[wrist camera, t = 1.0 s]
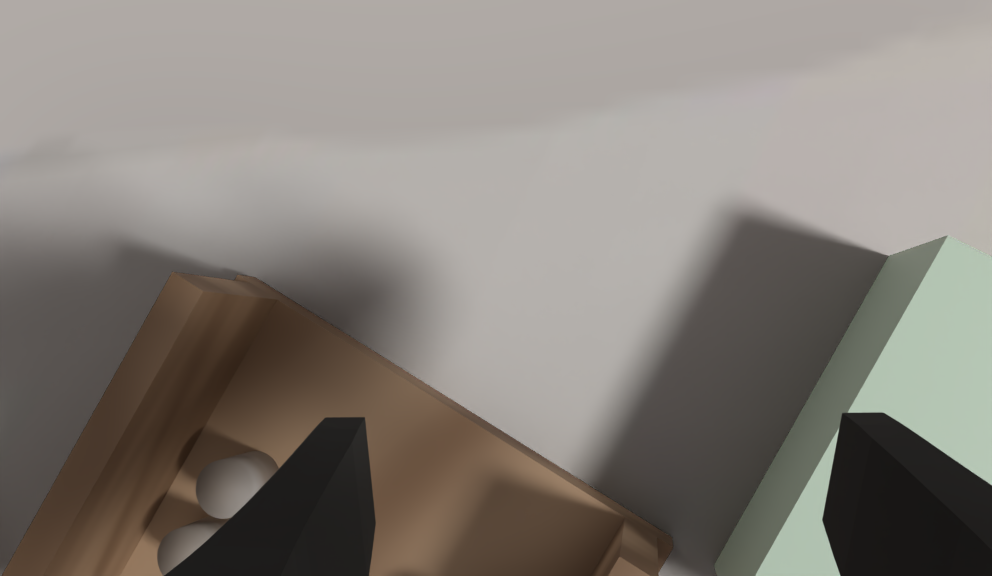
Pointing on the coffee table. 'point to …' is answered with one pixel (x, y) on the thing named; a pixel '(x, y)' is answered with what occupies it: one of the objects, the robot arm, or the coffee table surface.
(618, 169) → the coffee table surface
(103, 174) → the coffee table surface
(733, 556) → the pale green rectangular block
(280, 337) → the shelf frame
